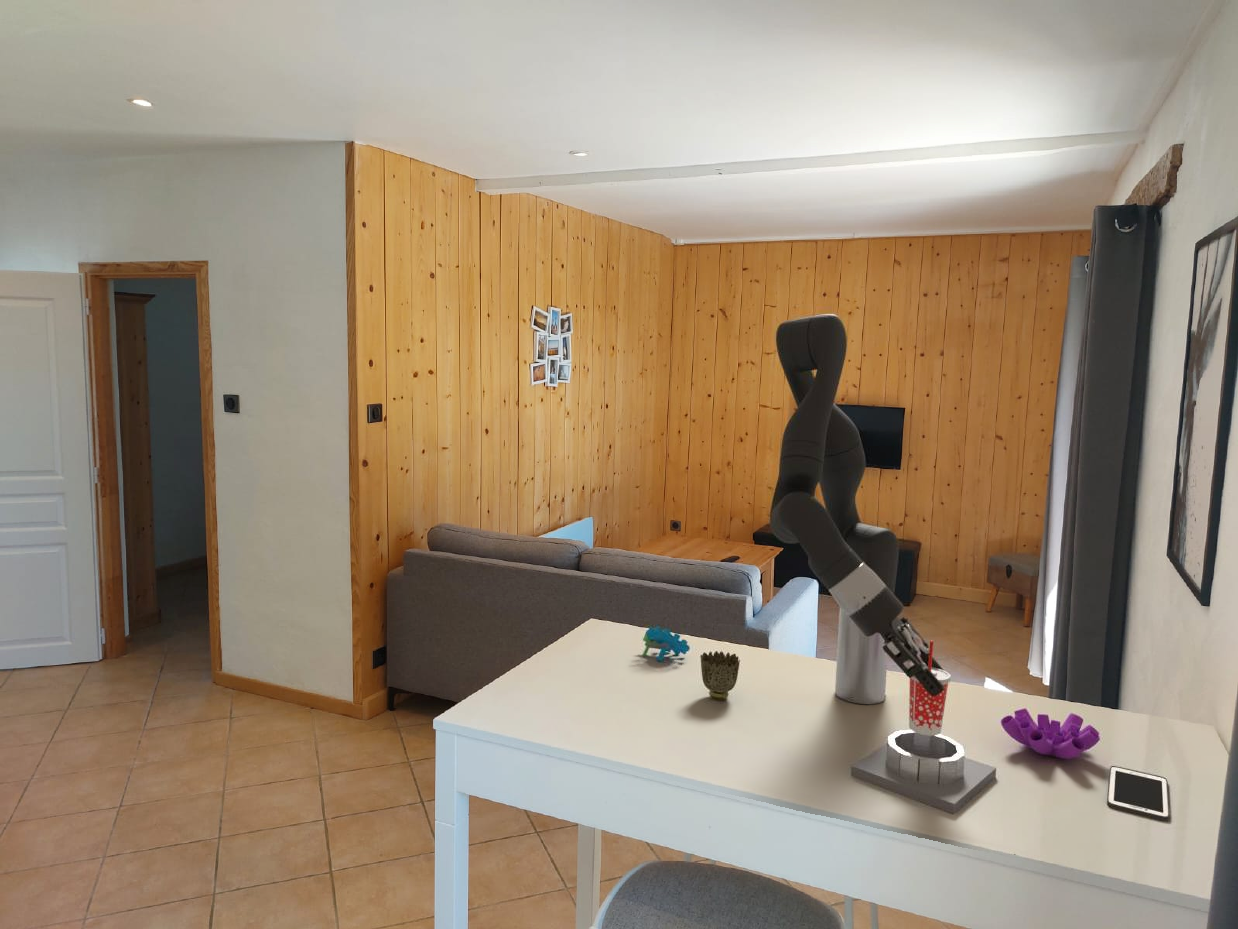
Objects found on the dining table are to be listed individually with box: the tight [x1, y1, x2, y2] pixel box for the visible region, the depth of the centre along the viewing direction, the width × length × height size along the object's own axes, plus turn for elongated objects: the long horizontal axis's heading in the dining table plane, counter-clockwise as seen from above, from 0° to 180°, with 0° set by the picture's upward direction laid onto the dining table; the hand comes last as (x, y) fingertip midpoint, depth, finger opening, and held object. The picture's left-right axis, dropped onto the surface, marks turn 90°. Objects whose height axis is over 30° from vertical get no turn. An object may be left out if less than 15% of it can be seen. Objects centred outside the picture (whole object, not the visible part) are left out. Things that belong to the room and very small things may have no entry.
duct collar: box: [886, 729, 966, 785], centre depth 131 cm, size 11×11×4 cm
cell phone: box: [1106, 765, 1170, 822], centre depth 127 cm, size 8×15×1 cm, turn 148°
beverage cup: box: [908, 640, 952, 736], centre depth 130 cm, size 6×6×14 cm
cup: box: [700, 650, 741, 701], centre depth 160 cm, size 8×7×8 cm
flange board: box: [850, 742, 997, 815], centre depth 131 cm, size 16×16×2 cm
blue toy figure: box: [642, 626, 691, 663], centre depth 182 cm, size 11×6×10 cm
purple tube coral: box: [1000, 707, 1101, 760], centre depth 140 cm, size 11×15×10 cm
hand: (940, 685), depth 129 cm, fingers closed on beverage cup, 6 cm apart
